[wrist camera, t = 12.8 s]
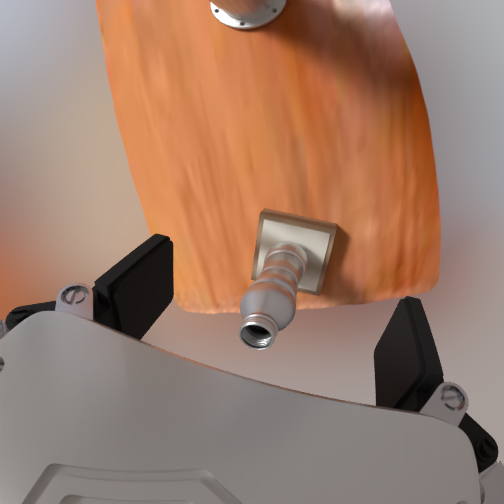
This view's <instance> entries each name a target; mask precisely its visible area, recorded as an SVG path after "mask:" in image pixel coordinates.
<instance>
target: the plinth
mask: <svg viewBox="0 0 504 504" xmlns="http://www.w3.org/2000/svg"><path fill="white" fill-rule="evenodd" d="M336 229H337V224H335V223H331V222H326V221H322V220H318V219H313V218H308V217H304V216H299V215H295V214H290V213H285V212H280V211H275V210H270V209H265V208H264V209H263V211H262V212H261V213H260V217H259V224H258V232H257V239H256V247H255V254H254V261H253V269H252V276H251V280H256V279H257V278H258V276H259V275H260V273H261V271H262V268H263V264H264V259H265V256H266V253H267V252H268V250H269V249H270V248H271V247H273V246H274V245H275V244H277V243H279V242H283V241H290V242H294V243H297V244H298V245H300V246H301V247H302V248H303V249H304V250H305V252H306V254H307V257H308V269H307V271H306V273H305V275H304V277H303V278H302V279H301V281H300V283H299V285H298V289H297V291H301V292H305V293H309V294H314V295H318V296H319V295H320V292H321V288H322V284H323V281H324V277H325V273H326V270H327V266H328V262H329V258H330V254H331V250H332V246H333V242H334V238H335V234H336Z"/></svg>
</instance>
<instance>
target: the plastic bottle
mask: <svg viewBox="0 0 504 504" xmlns="http://www.w3.org/2000/svg"><path fill="white" fill-rule="evenodd" d="M307 269H308V257H307V254H306V252H305V250H304V249H303V248H302V247H301V246H300V245H298V244H297V243H294V242H290V241H283V242H279V243H277V244H275V245H274V246H273V247H271V248H270V249H269V250H268V252H267V253H266V256H265V259H264V264H263V268H262V271H261V273H260V275H259V276H258V278H257V279H256V280H255V281H254V283H253V284H252V285H251V286H250V287H249V288H248V289H247V290H246V292H245V293H244V294H243V296H242V298H241V302H240V313H241V315H242V318H243V322H242V326H241V328H240V331H239V337H240V339H241V341H242V342H243V343H244V344H245V345H246V346H248V347H249V348H252V349H255V350H264V349H267V348H269V347H271V345H272V344H273V342H274V340H275V337H276V336H277V333H278V331H281V330H283V329H284V328H286V327H287V326H288V325H289V324H290V322H291V321H292V320H293V318H294V316H295V311H296V294H297V289H298V285H299V283H300V281H301V279H302V278H303V277H304V275H305V273H306V271H307Z"/></svg>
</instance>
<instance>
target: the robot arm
mask: <svg viewBox="0 0 504 504" xmlns="http://www.w3.org/2000/svg"><path fill="white" fill-rule="evenodd" d="M209 1H210V6H211V10H212V13H213V15H214V16H215V17H216V19H218V20H219V21H220V22H221V23H223V24H224V25H226V26H228V27H231V28H235V29H254V28H258V27H261V26H263V25H266V24H268V23H270V22H271V21H273V20H274V19H275V18H277V17H278V16H279V15H280V13H281V12H282V11H283V9H284V7H285V5H286V2H287V0H209ZM275 11H277V12H275ZM274 12H275V13H274ZM244 24H245V25H244ZM243 25H244V26H243ZM173 295H174V285H173V242H172V241H170V238H169V237H168V236H164V235H160V234H154V235H153V236H152V237H150V238H149V239H148V240H146V241H145V242H144V243H143V244H141V245H140V246H138V247H137V248H136V249H135V250H133V251H132V252H131V253H129V254H128V255H127V256H126V257H124V258H123V259H122V260H121V261H119V262H118V263H117V264H116V265H114V266H113V267H112V268H111V269H109V270H108V271H107V272H106V273H105V274H103V275H102V276H101V277H99V278H98V279H97V280H96V281H95V286H94V287H93V288H91V287H90V286H88V285H86V284H83V283H74V284H70V285H67V286H65V287H64V288H63V289H61V290H60V292H59V293H58V296H57V300H56V301H51V302H45V303H39V304H32V305H26V306H21V307H17V308H15V309H14V310H12V311H11V312H10V313H9V314H8V316H7V318H6V322H3V320H0V504H504V466H503V464H502V463H501V461H500V462H498V463H497V461H496V460H497V457H498V446H497V444H496V442H495V440H494V439H493V438H492V437H491V436H490V435H489V434H488V433H487V432H486V431H485V430H484V429H483V428H482V427H481V426H480V425H479V424H478V423H477V422H476V421H474V420H473V419H472V418H471V417H470V416H469V415H468V414H467V413H466V410H467V408H468V397H467V395H466V393H465V391H464V390H463V389H462V388H461V387H460V386H459V385H457V384H455V383H452V382H444V379H443V371H442V367H441V363H440V360H439V356H438V352H437V349H436V346H435V342H434V339H433V336H432V333H431V330H430V326H429V323H428V320H427V317H426V315H425V312H424V309H423V306H422V303H421V300H420V299H417V298H413V297H409V296H406V297H405V298H404V299H401V300H400V301H399V303H398V305H397V307H396V309H395V311H394V313H393V315H392V317H391V319H390V321H389V323H388V325H387V327H386V329H385V331H384V333H383V335H382V336H381V338H380V340H379V342H378V344H377V346H376V348H375V351H374V367H375V385H376V386H375V388H376V406H373V405H367V404H361V403H356V402H350V401H344V400H338V399H333V398H328V397H323V396H319V395H314V394H309V393H305V392H301V391H296V390H292V389H288V388H284V387H280V386H276V385H272V384H268V383H265V382H261V381H257V380H254V379H250V378H247V377H243V376H240V375H237V374H233V373H230V372H227V371H224V370H220V369H217V368H214V367H211V366H208V365H205V364H202V363H199V362H196V361H193V360H191V359H188V358H185V357H182V356H179V355H177V354H174V353H171V352H168V351H166V350H163V349H161V348H158V347H155V346H153V345H151V344H148V343H145V342H143V341H141V339H142V337H143V336H144V334H146V332H147V331H148V330H149V329H150V327H151V326H152V325H153V323H154V322H155V321H156V320H157V319H158V317H159V316H160V315H161V314H162V312H163V311H164V310H165V309H166V307H167V306H168V305H169V304H170V303H171V301H172V299H173Z"/></svg>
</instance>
